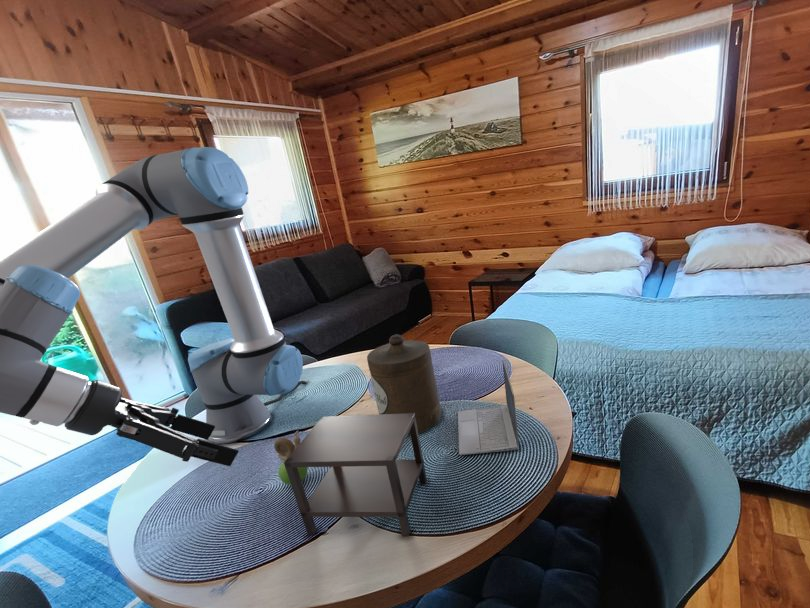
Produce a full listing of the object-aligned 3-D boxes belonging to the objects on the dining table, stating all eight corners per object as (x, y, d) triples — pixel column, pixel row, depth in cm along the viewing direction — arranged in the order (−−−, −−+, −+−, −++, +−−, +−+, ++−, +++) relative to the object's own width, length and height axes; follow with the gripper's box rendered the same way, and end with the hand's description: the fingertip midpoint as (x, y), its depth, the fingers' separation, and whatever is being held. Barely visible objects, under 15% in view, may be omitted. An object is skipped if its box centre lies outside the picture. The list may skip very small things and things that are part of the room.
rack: (340, 481, 86) (322, 416, 81) (427, 480, 84) (414, 412, 78) (307, 535, 74) (283, 462, 68) (409, 536, 71) (392, 460, 65)
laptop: (458, 413, 106) (451, 365, 101) (508, 407, 106) (504, 358, 101) (459, 457, 89) (450, 402, 84) (519, 450, 89) (514, 394, 84)
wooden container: (385, 408, 113) (368, 329, 105) (441, 401, 113) (429, 321, 105) (377, 439, 99) (357, 351, 91) (441, 431, 99) (426, 343, 91)
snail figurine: (305, 491, 85) (289, 439, 80) (277, 490, 86) (259, 439, 82) (319, 473, 90) (305, 424, 85) (292, 472, 91) (276, 423, 87)
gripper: (58, 403, 70) (192, 441, 84) (64, 457, 52) (232, 493, 67) (86, 362, 71) (213, 406, 86) (101, 401, 54) (257, 448, 68)
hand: (221, 444), depth 76 cm, fingers open, 13 cm apart
